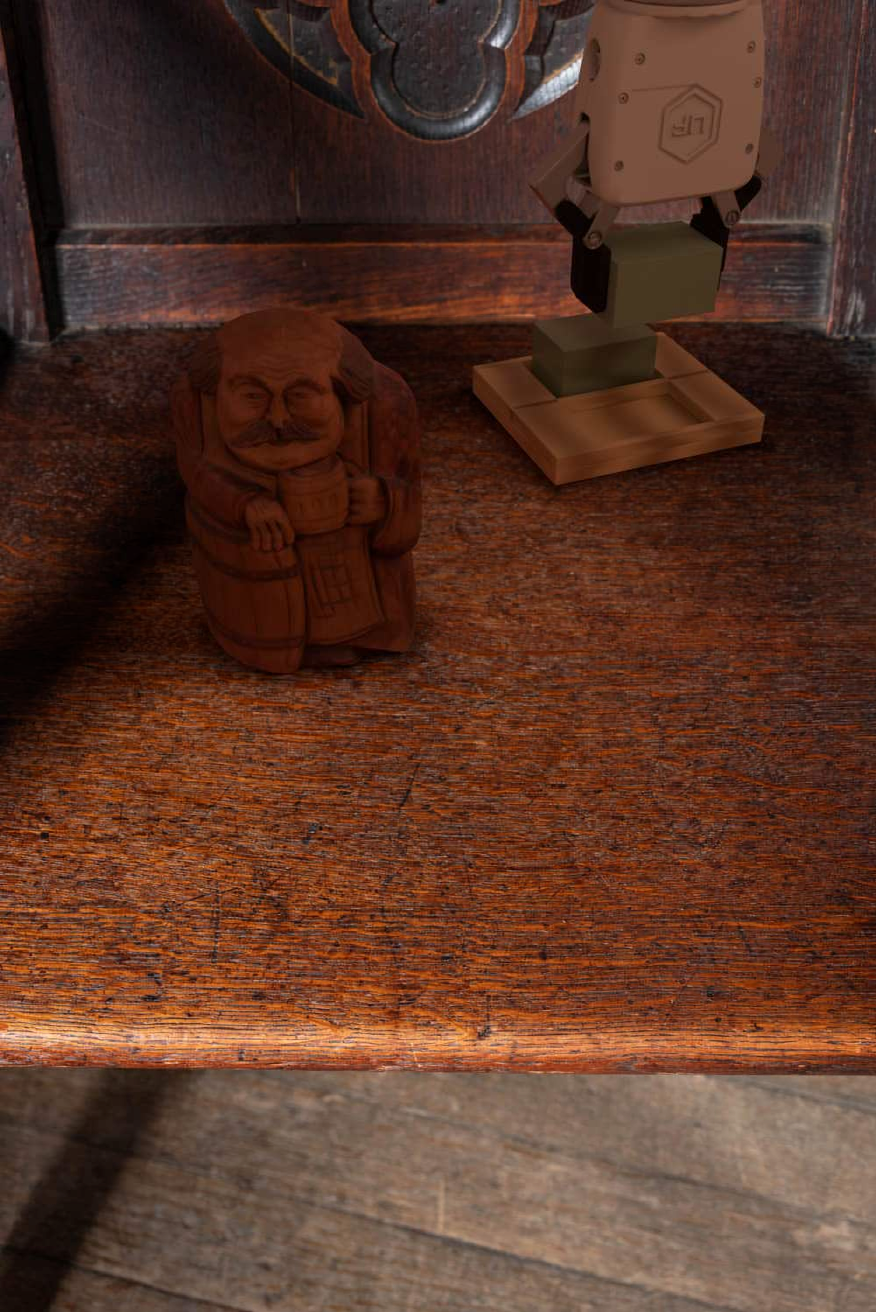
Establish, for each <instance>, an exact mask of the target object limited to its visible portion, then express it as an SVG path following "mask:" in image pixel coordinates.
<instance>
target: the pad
mask: <svg viewBox="0 0 876 1312" xmlns="http://www.w3.org/2000/svg"><path fill="white" fill-rule="evenodd" d="M604 244H605V245H606V246H608V247H609V248H610V250H611V259H610V269H609V281H608V293H607V305H606V309H605V310H604V312H601V313H594V314H596V315H597V316H598V317H599V318H600V319H601V320H603V321H604V322H605V323H606V324H607V325H608V326H609V327H611V328H612V329H617V328H623V327H629V326H635V325H640V324H645V325H647V324H651V323H657V322H662V321H669V320H674V319H675V320H676V319H680V318H685V317H692V316H698V315H703V314H708V313H709V314H710V313H714V312H715V311H716V304H717V297H718V292H717V289H718V282H719V275H720V268H721V261H722V254H723V248H722V247H721V246H719V245H718V244H716V243H715V242H713V241H712V240H710V239H709V238H707V237H706V236H704V235H703V234H701V233H700V232H698V231H697V230H695V229H694V228H692V227H691V226H690V224H688V223H686V222H685V221H683V220H675V221H669V222H662V223H661V222H660V223H656V224H654V223H653V224H648V225H642V226H635V227H628V228H621V229H616V230H609V231H608V233H607V235H606V237H605V239H604Z"/></svg>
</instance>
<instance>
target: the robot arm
mask: <svg viewBox="0 0 876 1312" xmlns="http://www.w3.org/2000/svg"><path fill="white" fill-rule="evenodd" d="M763 12H764V11H763V1H762V0H596V1H595V4H594V8H593V12H592V15H591V18H590V23H589V26H588V29H587V30H588V31H587V35H586V38H585V43H584V47H583V52H582V57H581V61H580V66H579V73H578V77H577V78H578V79H577V84H576V92H575V100H574V107H573V116H572V126H571V132H570V133H568V135H567V136H566V137H565V138H564V139H563V140H562V141H561V142H560V143H559V144H558V145H557V146H556V147H555V148H554V149H553V150H552V151H551V152H550V153H549V154H548V156H547V157H545V158H544V159H543V161H542V162H541V163H540V164H539V165H538V166H536V168H535V169H534V170H533V171H532V172H531V173H530V174H529V176H528V178H527V185H528V187H529V188H530V189H531V191H533V193H534V194H535V196H536V197H537V198H538V199H539V201H540V202H541V203H542V205H544V206H545V208H546V209H547V211H548V213H549V214H550V215H551V216H552V217H553V218H554V219H555V220H556V221H557V222H558V223H559V224H560V225H561V226H562V227H563V228H564V229H565V230H566V232H567V233H569V235H571V236H572V248H571V249H572V250H571V260H570V261H571V263H570V279H569V283H570V289H571V290H572V293H573V294H574V297H575V298H576V299H577V300H578V301H579V302H580V303H581V304H583V306H585V307H586V308H588V310H589V311H591V312H593V313H601V312H604V310H605V309H606V305H607V293H608V281H609V269H610V259H611V250H610V248H609V247H608V246H606V245H605V244H604V239H605V237H606V235H607V233H608V231H611V230H610V229H611V228H612V226H613V224H614V221H615V220H616V218H617V216H618V214H619V212H620V210H621V208H635V207H643V206H651V205H657V204H665V203H671V202H678V201H684V200H685V201H686V200H692V199H693V200H694V199H696V200H697V202H698V206H699V209H700V210H699V212H698V213H693V214H692V216H691V217H692V218H691V219H690V221H689V226H691V227H692V228H694V229H695V230H697V231H698V232H700V233H701V234H703V235H704V236H706V237H707V238H709V239H710V240H712V241H713V242H715V243H716V244H718V245H719V246H721V247H722V248H723V254H722V261H721V268H720V275H719V282H718V289H717V293H718V292H719V291H720V285H721V277H722V273H723V272H724V270H725V264H726V259H727V251H728V245H729V244H728V243H729V238H730V231H731V229H733V228H735V227H737V225H739V223H740V221H741V219H742V212H743V211H744V209H746V207H747V206H748V205H749V204H750V203H751V202H752V200H753V199H754V198H756V196H757V195H758V194H759V192H760V191H761V189H762V185H763V182H764V181H767V179H768V178H769V176H770V175H771V174H772V173H773V171H774V170H775V169H776V168H777V166H778V165H779V164H780V162H781V161H782V160H783V158H784V156H785V148H784V147H783V145H781V143H779V142H778V141H777V140H776V139H775V137H774V136H773V135H772V134H770V132H769V131H768V130H767V129H766V128H765V127H764V126H763V125H762V115H763V103H764V102H763V101H764V86H765V85H764V84H765V61H766V60H765V29H764V28H765V27H764V14H763ZM570 177H571V178H572V180H574V181H575V182H576V183H577V184H579V185H582V188H581V190H580V192H579V194H578V196H577V198H576V200H575V203H574V202H573V201H572V199H571V198H570V196H569V195H568V193H567V192H566V190H565V184H566V182H567V180H568V179H569V178H570Z"/></svg>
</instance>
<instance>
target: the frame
mask: <svg viewBox="0 0 876 1312" xmlns="http://www.w3.org/2000/svg"><path fill="white" fill-rule="evenodd" d="M531 339H532V341H531V355H527V356H521V357H517V358H511V359H504V360H500V361H495V362H488V363H483V364H478V365H473V366H472V393H473V394H474V395H475V396H476V398H478V400H479V401H480V402H481V404H483V405H484V406H485V408H486V409H487V410H488V411H489V412H490V413H491V415H492V416H493V417H494V418H495V419H496V421H498V423H499V424H500V425H501V426H502V427H503V428H504V429H505V430H506V431H507V433H508V434H509V435H510V436H511V438H512V439H514V441H515V442H516V443H517V444H518V445H519V446H520V447H521V449H522V450H523V451H524V452H525V453H526V455H528V456H529V458H530V459H531V460H532V461H533V462H534V464H535V465H536V466H537V468H539V469H540V470H541V472H542V473H543V474H544V475H545V476H546V477H547V478H548V480H550V482H551V483H552V484H553V485H554V486H555V487H556V486H560V485H565V484H570V483H575V482H580V481H584V480H589V479H593V478H597V477H602V476H607V475H611V474H616V473H621V472H626V471H630V470H635V469H640V468H644V467H648V466H649V467H650V466H653V465H658V464H663V463H667V462H672V461H677V460H681V459H686V458H690V457H695V456H699V455H704V454H709V453H714V452H718V451H722V450H727V449H731V448H737V447H741V446H746V445H752V444H756V443H759V442H760V443H761V441H762V436H763V428H764V423H765V416H766V414H764V413H763V411H761V410H759V409H758V408H757V407H756V406H754V405H753V403H751V402H750V401H748V400H747V399H746V398H745V397H744V396H742V394H740V393H738V391H736V390H735V389H734V388H732V387H731V386H730V385H729V384H727V382H725V380H723V379H722V378H720V377H719V376H718V375H716V373H714V372H713V371H712V370H711V369H709V368H708V367H707V366H705V365H704V363H702V362H701V361H699V360H698V359H697V358H696V357H694V356H693V355H692V354H691V353H689V352H688V351H687V350H686V349H684V348H683V347H682V346H681V345H680V344H678V343H677V342H676V341H674V339H672V338H671V337H670V336H668V335H667V334H666V333H665V332H664V331H658V332H655V331H654V330H653V329H651V328H650V327H649V326H648V325H647V324H640V325H635V326H629V327H623V328H617V329H612V328H611V327H609V326H608V325H607V324H606V323H605V322H604V321H603V320H601V319H600V318H599V317H598V316H597V315H596V314H594V313H593V312H592V311H591V312H586V313H581V314H575V315H574V314H573V315H569V316H568V315H567V316H563V317H557V318H552V319H547V320H540V321H536V322H533V323H532V338H531Z"/></svg>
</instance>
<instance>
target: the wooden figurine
mask: <svg viewBox="0 0 876 1312" xmlns="http://www.w3.org/2000/svg"><path fill="white" fill-rule="evenodd" d="M169 405H170V412H171V417H172V424H173V430H174V438H175V446H176V464H177V467H178V468H177V470H178V472H179V475H180V477H181V479H182V482H183V483H184V485H185V487H186V490H185V494H184V509H185V522H186V525H187V531H188V537H189V546H190V551H191V557H192V562H193V568H194V569H193V570H194V573H195V578H196V583H197V588H198V591H199V596H200V599H201V602H202V606H203V611H204V615H205V619H206V623H207V625H208V629H209V631H210V633H211V635H212V637H213V638H214V639H215V641H216V642H217V643H218V644H219V646H221V648H222V649H223V652H225V653H226V654H227V655H228V656H229V657H232V658H234V659H236V660H237V661H239V662H240V663H241V664H243V665H244V666H247V667H251V668H254V669H258V670H261V671H265V672H270V673H273V674H274V673H275V674H292V673H294V672H296V671H297V670H298V669H299V668H300V667H303V666H313V667H320V668H327V667H331V666H335V665H337V666H349V665H354V664H358V663H359V662H360V661H361V660H362V659H363V657H364V656H365V655H366V654H367V652H369V651H386V652H394V653H401V654H402V653H406V652H407V651H408V650H409V649H410V647H411V645H412V643H413V642H414V639H415V631H416V625H417V623H416V622H417V621H416V600H417V599H416V598H417V593H416V592H417V588H416V587H417V586H416V582H417V581H416V576H415V569H414V561H413V551H412V549H414V548H415V547H416V546H417V545H418V543H419V540H420V535H421V532H422V521H423V520H422V518H423V511H422V510H423V508H422V505H423V504H422V503H423V492H422V491H423V490H422V454H421V453H422V452H421V430H420V428H421V427H420V420H419V419H420V418H419V412H418V407H417V401H416V397H415V395H414V393H413V391H412V389H411V387H410V385H408V383H407V382H406V380H404V378H403V377H402V376H401V375H400V374H399V373H398V372H397V371H394V370H393V369H391V368H390V367H388V366H386V365H385V364H383V363H381V362H379V361H377V360H376V359H374V358H373V357H372V355H371V353H370V352H369V350H368V349H367V348H366V347H365V346H364V345H363V342H362V341H361V340H360V339H359V338H358V336H356V335H354V334H353V333H351V331H349V330H348V329H347V328H345V326H344V325H341V324H340V323H338V322H337V320H334V319H333V318H331V317H328V316H327V315H324V314H323V313H319V312H317V311H313V310H306V309H300V308H289V307H270V308H265V309H264V308H263V309H260V310H255V311H250V312H247V313H243V314H241V315H237V317H234V318H232V319H230V320H228V321H226V322H225V323H224V324H222V325H221V326H220V327H218V328H217V329H214V330H213V331H211V332H210V333H209V335H207V337H206V338H205V339H204V340H203V341H202V342H201V343H200V345H198V346H197V348H196V349H195V350H194V352H193V354H192V356H191V357H190V359H189V362H188V366H187V372H186V373H184V375H182V376H181V377H180V378H179V379H178V380H177V381H176V382H174V383H173V385H172V387H171V390H170V392H169Z"/></svg>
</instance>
